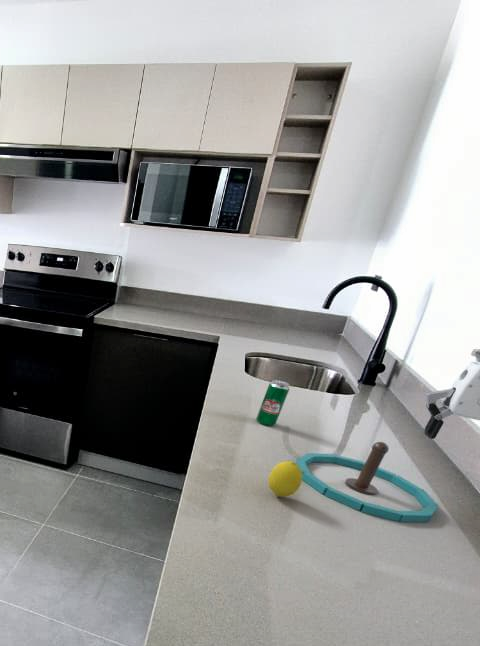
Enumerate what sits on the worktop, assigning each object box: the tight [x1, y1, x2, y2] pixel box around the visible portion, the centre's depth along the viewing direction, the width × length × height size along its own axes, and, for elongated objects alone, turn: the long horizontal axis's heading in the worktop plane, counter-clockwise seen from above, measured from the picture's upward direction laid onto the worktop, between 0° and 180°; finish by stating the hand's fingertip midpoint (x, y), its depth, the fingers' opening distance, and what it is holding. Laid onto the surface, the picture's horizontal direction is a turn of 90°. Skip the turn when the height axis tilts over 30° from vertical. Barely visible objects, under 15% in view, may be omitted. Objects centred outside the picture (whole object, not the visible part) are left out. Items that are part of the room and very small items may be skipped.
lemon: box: [268, 460, 303, 498], centre depth 99 cm, size 6×6×8 cm
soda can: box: [255, 379, 290, 427], centre depth 137 cm, size 5×5×12 cm
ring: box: [295, 452, 439, 523], centre depth 109 cm, size 26×26×2 cm
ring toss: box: [344, 441, 390, 496], centre depth 107 cm, size 6×6×11 cm
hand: (456, 442), depth 100 cm, fingers open, 9 cm apart
